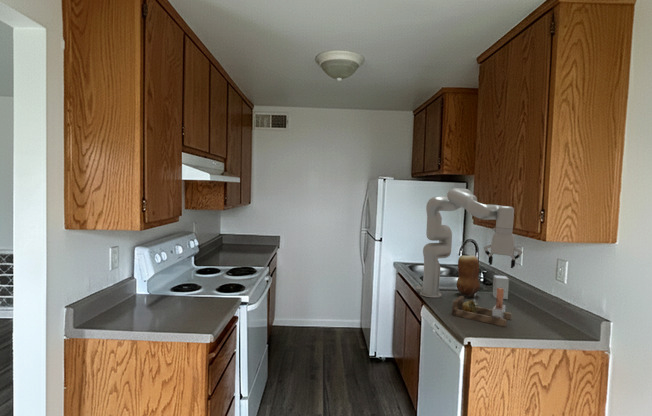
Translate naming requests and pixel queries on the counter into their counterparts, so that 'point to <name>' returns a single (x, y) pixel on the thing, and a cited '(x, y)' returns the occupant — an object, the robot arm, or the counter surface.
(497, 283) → the supplement box
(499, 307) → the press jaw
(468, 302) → the onion
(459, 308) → the press frame
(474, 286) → the butternut squash
